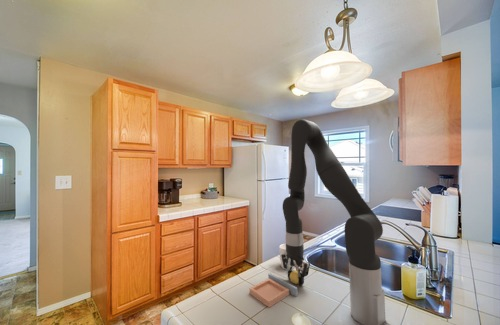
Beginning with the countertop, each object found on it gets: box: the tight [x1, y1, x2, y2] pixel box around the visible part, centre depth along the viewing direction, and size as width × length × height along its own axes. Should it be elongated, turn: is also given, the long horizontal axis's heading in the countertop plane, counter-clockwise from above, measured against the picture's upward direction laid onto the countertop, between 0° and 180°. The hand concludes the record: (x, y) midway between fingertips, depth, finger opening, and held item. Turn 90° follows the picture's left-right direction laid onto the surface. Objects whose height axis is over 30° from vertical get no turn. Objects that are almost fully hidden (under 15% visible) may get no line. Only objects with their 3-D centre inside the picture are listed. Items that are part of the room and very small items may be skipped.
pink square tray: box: [249, 278, 290, 308], centre depth 81 cm, size 11×11×2 cm
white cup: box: [278, 243, 295, 270], centre depth 104 cm, size 8×8×10 cm
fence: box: [267, 272, 299, 297], centre depth 85 cm, size 15×1×3 cm, turn 40°
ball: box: [289, 270, 299, 285], centre depth 89 cm, size 5×5×5 cm
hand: (295, 281), depth 89 cm, fingers closed on ball, 5 cm apart
